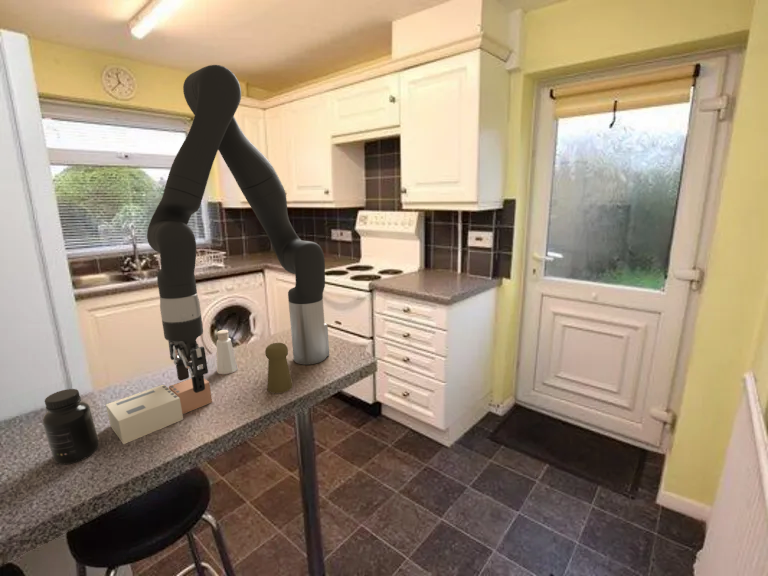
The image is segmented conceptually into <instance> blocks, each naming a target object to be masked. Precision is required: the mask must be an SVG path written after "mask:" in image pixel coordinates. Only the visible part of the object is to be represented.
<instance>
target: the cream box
mask: <svg viewBox="0 0 768 576" xmlns="http://www.w3.org/2000/svg"><path fill="white" fill-rule="evenodd" d="M105 407H106V408H105V409H106V410H107V411H106V412H107V416H108V421H109V426H110V427H111V429H112V430H113V432H114V433H115V435H116V436H117V437H118V438H119V440H120V441H121V443H122V445H125V444H127V443H130V442H133V441H136V440H138V439H140V438H142V437H144V436H146V435H149V434H151V433H154V432H157V431H159V430H161V429H164V428H167V427H168V426H171V425H174V424H176V423H178V422H180V421H182V420H184V416H183V415H184V414H182V409H181V403H180V398H179V397H178V396H177V395H176V394H174V393H173V392H172V391H171V390H170V389H169V386H167V385H165V384H161V385H158V386H155V387H153V388H150V389H146V390H142V391H140V392H138V393H135V394H133V395H130V396H126V397H123V398H121V399H117V400H115V401H112V402H109V403H107V404H106V403H105Z"/></svg>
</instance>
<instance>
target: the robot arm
mask: <svg viewBox="0 0 768 576" xmlns="http://www.w3.org/2000/svg"><path fill="white" fill-rule="evenodd" d="M183 82H184V83H183V88H182V89H183V95H184V99H185V102H186V104H187V106H188V107H189V109H190V111H191V112H192V114H193V115H194V117H193V119H192V120H193V121H192V123H191V126H190V128H189V130H188V133H187V135H186V137H185V139H184V141H183V143H182V144H181V146H180V148H179V149H178V152H177V153H176V156H175V157H174V159H173V161H172V163H171V167H170V170H169V173H168V176H167V179H166V182H165V186H164V189H163V193H162V197H161V200H160V201H159V203H158V204H157V207H156V209H155V210H154V213H153V215H152V216H151V219H150V222H149V223H148V228H147V230H146V231H147V233H146V239H147V240H146V241H147V243H148V245H149V246H150V248H151V249H152V250H154V251H156V252H157V253H159V255H160V257H159V258H160V269H159V270H158V272H157V276H156V279H157V287H158V293H159V310H160V317H161V323H162V329H163V330H162V331H163V336H164V339H165V340H166V341H167V342H168V348H169V355H170V356H169V358H170V360H171V361H173V364H174V365H175V368H176V369H175V370H176V375H177V379H178V381H179V382H183V381H185V380H188V379H191V378H192V385H193V391H194V392H195V393H198V392H200V391H203V390H204V389H205V384H204V379H205V378H204V375H206V374H208V373H209V369H208V368H209V367H208V362H207V357H206V356H207V355H206V349H205V347H204V346H199V344H198V341H197V339H198V338H199V337H200V336H202V335H203V333H204V327H203V320H202V319H203V318H202V310H201V302H200V299H199V295H198V291H197V290H198V289H197V283H196V276H195V268H196V262H197V261H196V260H197V259H196V258H197V241H196V235H195V234H194V231H193V230H192V228H191V227H190V226H189V225H188V223H189V221H190V219H191V216H192V215H193V214H195V213H197V212H198V211H199V209H200V208H201V204H202V202H203V201H202V200H203V197H204V194H205V192H206V187H207V184H208V182H209V181H208V180H209V177H210V174H211V170H212V168H213V165H214V162H215V158H216V157H217V153H218V151H219V154H220V156H221V157H222V159H223V161H224V163H225V165H226V166H227V168H228V169H229V171H230V173H231V175H232V176H233V178H234V180H235V182H236V184H237V185H238V187H239V190H240V191H241V194H242V195H243V197H244V198H245V199H246V201H247V203H248V205H249V206H250V208H251V210H252V211H253V213H254V215H255V216H256V218H257V219H258V221H259V224H260V225H261V227H262V228H263V230H264V232H265V233H266V235H267V237H268V240H269V241H270V244H271V247H272V249H273V250H274V253H275V255H276V257H277V260H278V261H279V263H280V265H281V267H282V268H283V269H284V270H285V271H287V272H288V273H290V274H294V275H295V285H294V287H291V288H290V289H289V290H288V292H287V298H288V309H289V310H288V311H289V323H290V333H291V344H292V356H293V362H294V363H296V364H300V365H315V364H319V363H321V362H323V361H324V360H325V359H326V358H327V357H329V356H330V344H329V343H330V342H329V341H330V340H329V329H328V326H329V325H328V323H326V322H325V313H324V312H325V311H324V297H323V296H324V291H325V286H326V265H325V264H326V262H325V261H326V260H325V255H324V254H325V253H324V251H323V249H322V247H321V246H320V244H318V243H317V242H315V241H310V240H302V239H301V238H300V236H299V235H298V234H297V233H296V230H295V229H294V227H293V225H292V223H291V222H290V218H289V215H288V213H289V212H288V201H287V194H286V190H285V188H284V185H283V183H282V182H281V179H280V178H279V176H278V174H277V172H276V170H275V167H274V166H273V165H272V163H271V162H270V161H269V159H268V158H267V157H266V156H265V155H264V154H263V152H261V151H260V150H259V148H257V147H256V145H254V143H252V142H251V141H250V139H249V138H248V137H247V136H246V135H245V133H244V132H243V130H242V129H241V127H240V125H239V123H238V122H237V120H236V118H235V114H236V112H237V109H238V108H239V106H240V103H241V100H242V88H241V84H240V82H239V79H238V78H237V76H236V75H235V73H233V72H232V71H231V70H230V69H229V68H227V67H225V66H223V65H220V64H210V65H207V66H204V67H202V68H200V69H198V70H196V71H194V72H192V73H191V74H189V75H187V77H186V78H185V80H184V81H183ZM189 373H190V375H189ZM190 376H191V377H190ZM189 377H190V378H189Z"/></svg>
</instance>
